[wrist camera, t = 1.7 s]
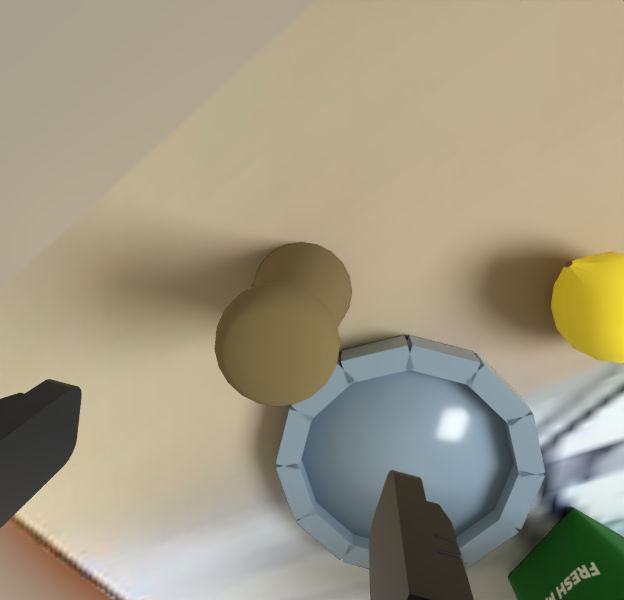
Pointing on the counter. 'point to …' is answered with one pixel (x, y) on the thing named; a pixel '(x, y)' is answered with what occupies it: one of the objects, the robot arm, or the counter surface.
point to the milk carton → (573, 563)
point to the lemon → (592, 305)
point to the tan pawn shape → (285, 326)
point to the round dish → (411, 446)
